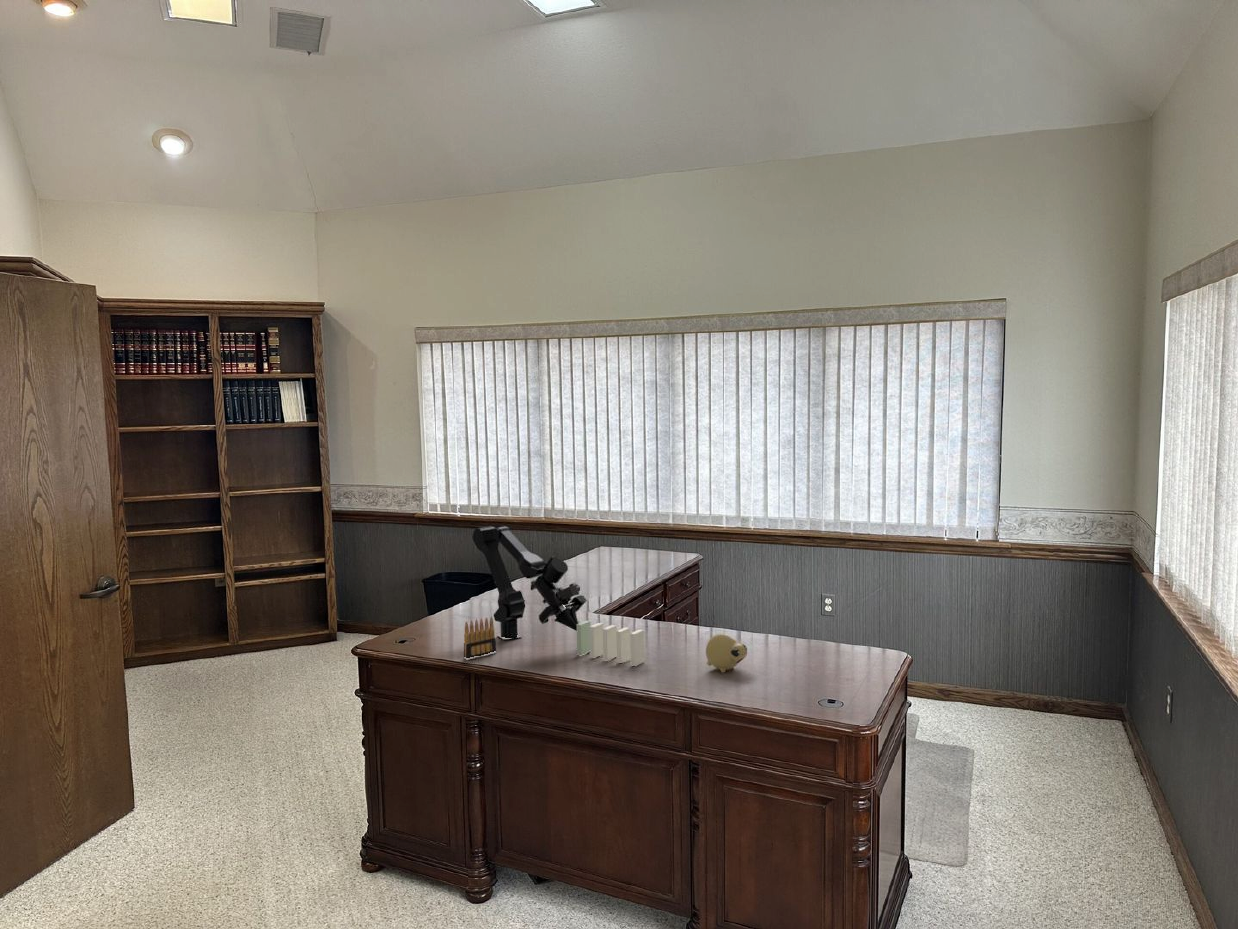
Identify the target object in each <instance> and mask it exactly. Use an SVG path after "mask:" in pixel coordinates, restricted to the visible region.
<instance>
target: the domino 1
mask: <svg viewBox="0 0 1238 929" xmlns="http://www.w3.org/2000/svg"><path fill="white" fill-rule="evenodd" d="M590 626H591V621H590V620H585V621H582V622H578V624H577V631H576V652H577V653H576V654H579V655H582V654H585V653H586V652H588V651H590V629H589V627H590Z"/></svg>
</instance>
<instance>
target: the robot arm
mask: <svg viewBox="0 0 1238 929" xmlns="http://www.w3.org/2000/svg"><path fill="white" fill-rule="evenodd" d="M471 536H472V540H473V543H474V545H475V546H476V548H477V550H479V551H480V552H481V553H482V554H483V555H484V557H485V560H486V561H487V562H486V563H487V565H488V567H489V570H490V573H491V576H492V578H493V581H494V583H495V586H496V589H497V591H498V597H497V606H498V608H497V610H496V611H495V612H494V613H493V620H494V621H495V622H499V623H500V624H499V625H500V626H499V627H500V634H501V637H505V638H516V637H517V635H518V634H519V632H518V619H521V618H523V617H524V612H525V608H526V603H525V602H526V599H524V597H523V592H522V591H521V590H520V589H519V590H516V589H515V588H514V586H513V584H512V582H511V579H510V576H509V573H508V571H507V569H506V566H505V563H504V561H503V560H504V559H503V557H502V556H501V553H500V550H499V548H500V544H501V545H502V547H504V549H505V550H506V551H507V552H508V553H509V554H510V556H512V557H513V558H514V560H515V561H516V562H517V563H518V570H519V571H520V573H521V574H522V575H523V577H524V578H526V579H533V578H536V579H535V580H531V581H530V591H533V590H537V592H538V593H539V594H540V595H541V597H542V598H543V600H542V603H543V604H544V605H545V604H547V605H548V606H545V608H544V609H543V610H542V612H540V614H539V615H538V620H539V622H540V623H541V624H542V625H544V624H547V623H549V619H550V617H553V616H554V617H555V619H554V620H553V621H554V622H555V623H559V624H561V625H564V626H565V627H568V628H570V629H572V630H574V631H576V632H577V624H579V621H578V618H577V614H576V612H578V611H579V610H581V608H582V607H583V605H585V603H587V599H586V597H585V596H584V595H581V594H580V591H581V586H580V585H579V584H578V583H577V582H573V583H570V584H568V585H569V586H568V587H565V588H563V587H561V586H560V587H558V586H557V583H559V582H560V581H561V579H562V578H563V577H564V576H565V574H566V573H567V572H568V569H569V567H568V564H567V563H566V562H565V561H564V560H562V559H561V558H557V556H556V555H554V556H551V557H550V558H549V560H548V561H547V562H546V561H545V560H544V559H543V558H541V557H540V556H539V555H538V554H535V553H532V552H530V551H529V550H528V549H527V548H526V546H524V545H523V543H521V541H519V539H518V538H517V537H516V536H515V535H514V534H513V533H512V532H511V530H510V528H509V527H508V526H505V525H504V526H499V527H494V526H493V525H489V526H488V525H487V526H483V527H482V526H481V527H478V528H475V529H474V530H473V533H472V535H471ZM572 597H573V598H572ZM516 639H517V638H516Z"/></svg>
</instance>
